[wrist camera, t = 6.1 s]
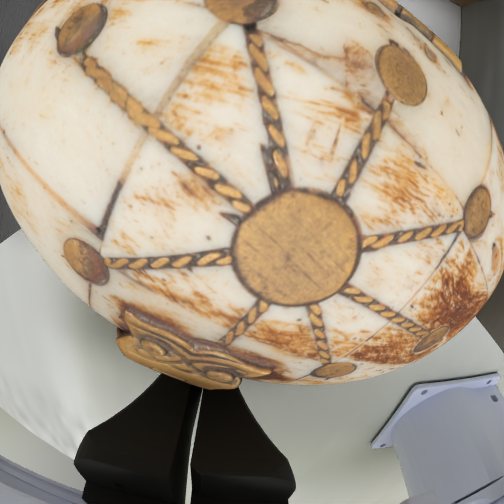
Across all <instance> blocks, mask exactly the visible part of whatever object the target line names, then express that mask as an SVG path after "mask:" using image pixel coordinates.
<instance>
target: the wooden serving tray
mask: <svg viewBox="0 0 504 504" xmlns="http://www.w3.org/2000/svg"><path fill="white" fill-rule="evenodd" d="M450 1H452V2H454V3H456V4H458V5H459V6H461V7H462V20H461V46H460V60H461V63H462V71H463V72H464V73H465V74H466V76H467V77H468V79H469V80H470V82H471V83H472V85H473V87H474V88H475V90H476V92H477V93H478V95H479V97H480V98H481V100H482V102H483V104H484V106H485V108H486V110H487V111H488V113H489V115H490V117H491V119H492V122H493V124H494V127H495V129H496V132H497V135H498V138H499V141H500V143H501V147H502V149H503V153H504V0H450ZM476 318H477V319H478V320H479V321H480V323H481V324H482V325H483V326H484V328H485V329H486V330H487V331H488V333H489V334H490V335H491V337H492V338H493V339H494V340H495V342H496V343H497V344H498V346H499V347H500V348H501V350H502V351H503V353H504V270H503V273H502V275H501V278H500V280H499V282H498V284H497V286H496V288H495V289H494V291H493V293H492V294H491V296H490V297H489V299H488V300H487V302H486V303H485V304H484V306H483V307H482V308H481V309H480V311H479V312H478V313H477V314H476Z"/></svg>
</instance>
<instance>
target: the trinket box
mask: <svg viewBox="0 0 504 504" xmlns="http://www.w3.org/2000/svg"><path fill="white" fill-rule="evenodd" d="M0 185H1V188H2V191H3V194H4V196H5V198H6V201H7V203H8V205H9V207H10V209H11V211H12V213H13V215H14V217H15V218H16V220H17V222H18V224H19V225H20V227H21V228H22V230H23V232H24V233H25V235H26V236H27V238H28V239H29V241H30V242H31V244H32V245H33V247H34V248H35V249H36V251H37V252H38V253H39V255H40V256H41V257H42V259H43V260H44V261H45V262H46V264H47V265H48V266H49V267H50V268H51V270H52V271H53V272H54V273H55V274H56V275H57V276H58V277H59V279H60V280H61V281H62V282H63V283H64V284H65V285H66V286H67V287H68V288H69V289H70V290H71V291H73V292H74V293H75V294H76V295H77V296H78V297H79V298H80V299H81V300H83V301H84V302H85V303H86V304H87V305H88V306H90V307H91V308H92V309H93V310H95V311H96V312H97V313H99V314H100V315H101V316H103V317H104V318H106V319H107V320H108V321H110V322H111V323H113V324H114V325H116V326H117V330H116V332H117V336H118V337H117V339H116V342H117V344H118V346H119V348H120V350H121V351H122V352H123V354H124V355H125V357H127V358H129V359H131V360H133V361H135V362H137V363H139V364H142V365H144V366H146V367H148V368H151V369H153V370H155V371H158V372H160V373H163V374H165V375H168V376H170V377H173V378H176V379H178V380H181V381H184V382H186V383H189V384H192V385H195V386H198V387H201V388H204V389H208V390H214V389H235V388H237V387H238V386H239V385H240V384H241V382H242V378H246V379H251V380H257V381H263V382H271V383H278V384H292V385H325V384H337V383H346V382H353V381H358V380H363V379H368V378H372V377H376V376H379V375H382V374H385V373H388V372H391V371H394V370H397V369H399V368H402V367H404V366H406V365H409V364H411V363H413V362H415V361H417V360H419V359H420V358H422V357H424V356H426V355H428V354H429V353H431V352H432V351H434V350H436V349H437V348H439V347H440V346H442V345H443V344H444V343H446V342H447V341H449V340H450V339H451V338H452V337H454V336H455V335H456V334H457V333H458V332H460V331H461V330H462V329H463V328H464V327H465V326H466V325H467V324H468V323H469V322H470V321H471V320H472V319H473V318H474V317H475V316H476V314H477V313H478V312H479V311H480V309H481V308H482V307H483V306H484V304H485V303H486V302H487V300H488V299H489V297H490V296H491V294H492V293H493V291H494V289H495V288H496V286H497V284H498V282H499V280H500V278H501V275H502V273H503V270H504V153H503V149H502V147H501V143H500V141H499V138H498V135H497V132H496V129H495V127H494V124H493V122H492V119H491V117H490V115H489V113H488V111H487V110H486V108H485V106H484V104H483V102H482V100H481V98H480V97H479V95H478V93H477V92H476V90H475V88H474V87H473V85H472V83H471V82H470V80H469V79H468V77H467V76H466V74H465V73H464V72H463V71H462V63H461V60H460V59H459V58H458V57H457V56H456V55H455V53H454V52H453V51H452V50H451V49H450V48H449V47H448V46H447V45H446V44H445V43H444V42H443V41H442V40H441V39H439V38H438V37H437V36H436V35H435V34H434V33H433V32H432V31H431V30H429V29H428V28H427V27H426V26H425V25H424V24H423V23H421V22H420V21H419V20H418V19H417V18H416V17H414V16H413V15H412V14H411V13H410V12H409V11H407V10H406V9H405V8H404V7H403V6H401V5H399V4H398V3H397V2H396V1H395V0H44V1H43V2H42V3H41V4H40V6H39V7H38V8H37V9H36V10H35V12H34V13H33V14H32V16H31V17H30V19H29V20H28V22H27V23H26V24H25V26H24V27H23V29H22V30H21V31H20V33H19V34H18V36H17V37H16V39H15V40H14V42H13V43H12V45H11V47H10V48H9V50H8V52H7V54H6V56H5V58H4V60H3V62H2V64H1V67H0Z"/></svg>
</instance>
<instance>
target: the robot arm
mask: <svg viewBox="0 0 504 504" xmlns="http://www.w3.org/2000/svg"><path fill="white" fill-rule="evenodd" d="M500 377H501V376H500V375H499V373H496V374H490V375H485V376H479V377H473V378H467V379H460V380H453V381H445V382H436V383H427V384H419V385H416V386H414V387H413V388H412V389H411V391H410V392H409V394H408V395H407V396H406V398H405V399H404V401H403V402H402V404H401V405H400V407H399V408H398V409H397V411H396V412H395V414H394V415H393V416H392V418H391V419H390V420H389V422H388V423H387V424H386V426H385V427H384V428H383V430H382V431H381V432H380V433H379V435H378V436H377V437H376V438H375V440H374V441H373V442H372V444H371V446H372V448H373V449H378V448H386V447H392V446H394V447H395V450H396V453H397V457H398V460H399V463H400V467H401V470H402V473H403V477H404V480H405V484H406V487H407V491H408V495H409V499H406V500H404V501H403V502H401V503H400V504H504V398H503V396H502V394H501V393H500V391H499V389H498V388H497V386H496V384H497V382H498V381H499V380H500ZM202 389H203V394H202V400H201V406H200V412H199V418H198V424H197V430H196V436H195V442H194V447H193V452H192V458H191V463H190V467H191V480H192V494H191V504H288V499H289V498H290V496H291V495H292V494H293V492H294V491H295V489H296V483H295V479H294V475H293V472H292V469H291V467H290V464H289V462H288V459H287V458H286V457H285V456H284V455H283V454H282V453H281V452H280V451H279V450H278V448H277V447H276V446H275V445H274V444H273V443H272V441H271V440H270V439H269V438H268V436H267V435H266V434H265V432H264V431H263V429H262V428H261V427H260V425H259V424H258V422H257V421H256V419H255V418H254V416H253V414H252V413H251V411H250V409H249V408H248V406H247V404H246V402H245V400H244V398H243V396H242V394H241V392H240V390H239V387H237V388H235V389H214V390H208V389H204V388H201V387H198V386H195V385H192V384H189V383H186V382H184V381H181V380H178V379H176V378H173V377H170V376H168V375H165V374H163V373H161V374H160V376H159V377H158V378H157V379H156V380H155V381H154V382H153V383H152V384H151V385H150V386H149V387H148V388H147V389H146V390H145V391H144V392H143V393H142V394H141V395H140V396H139V397H138V398H136V399H135V400H134V401H133V402H132V403H131V404H129V405H128V406H127V407H125V408H124V409H123V410H121V411H120V412H118V413H117V414H116V415H114V416H113V417H111V418H110V419H108V420H107V421H105V422H103V423H101V424H100V425H98V426H96V427H94V428H93V429H91V430H89V431H88V432H87V433H86V435H85V437H84V438H83V440H82V442H81V444H80V446H79V448H78V451H77V454H76V457H75V460H74V465H75V467H76V469H77V470H78V471H79V473H80V474H81V475H82V476H83V478H84V479H85V480H86V484H85V487H84V491H80V490H77V489H74V488H71V487H68V486H66V485H63V484H61V483H58V482H56V481H53V480H51V479H48V478H46V477H44V476H41V475H39V474H37V473H35V472H33V471H30V470H28V469H26V468H24V467H22V466H20V465H18V464H16V463H14V462H12V461H10V460H8V459H6V458H5V457H3V456H1V455H0V504H185V496H186V485H187V474H188V464H189V455H190V446H191V438H192V432H193V427H194V423H195V419H196V414H197V410H198V406H199V402H200V397H201V393H202Z"/></svg>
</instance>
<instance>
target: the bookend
mask: <svg viewBox="0 0 504 504" xmlns="http://www.w3.org/2000/svg"><path fill="white" fill-rule="evenodd" d="M43 1H44V0H0V67H1V64H2V62H3V60H4V58H5V56H6V54H7V52H8V50H9V48H10V47H11V45H12V43H13V42H14V40H15V39H16V37H17V36H18V34H19V33H20V31H21V30H22V29H23V27H24V26H25V24H26V23H27V22H28V20H29V19H30V17H31V16H32V14H33V13H34V12H35V10H36V9H37V8H38V7H39V6H40V4H41V3H42V2H43ZM19 229H21V227H20V225H19V224H18V222H17V220H16V218H15V217H14V215H13V213H12V211H11V209H10V207H9V205H8V203H7V201H6V198H5V196H4V194H3V191H2V188H1V185H0V243H2V242H3V241H4V240H6V239H7V238H8V237H10V236H11V235H12V234H14V233H15V232H16V231H18V230H19Z"/></svg>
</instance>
